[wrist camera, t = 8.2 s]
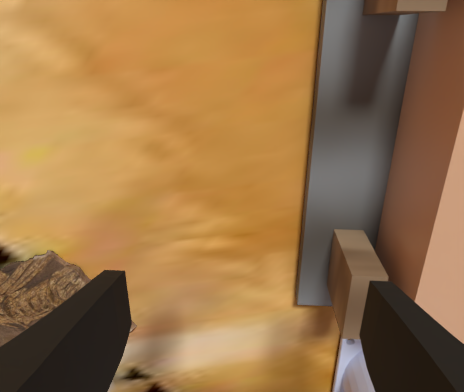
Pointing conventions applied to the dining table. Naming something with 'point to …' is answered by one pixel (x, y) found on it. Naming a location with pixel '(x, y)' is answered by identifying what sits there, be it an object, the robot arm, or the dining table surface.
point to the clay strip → (430, 175)
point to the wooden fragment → (35, 291)
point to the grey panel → (353, 149)
